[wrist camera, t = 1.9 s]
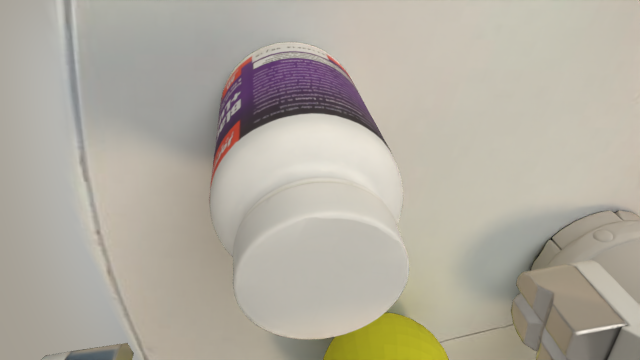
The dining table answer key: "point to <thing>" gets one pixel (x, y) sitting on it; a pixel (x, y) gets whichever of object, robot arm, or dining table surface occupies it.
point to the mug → (600, 247)
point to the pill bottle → (305, 196)
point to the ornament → (387, 342)
